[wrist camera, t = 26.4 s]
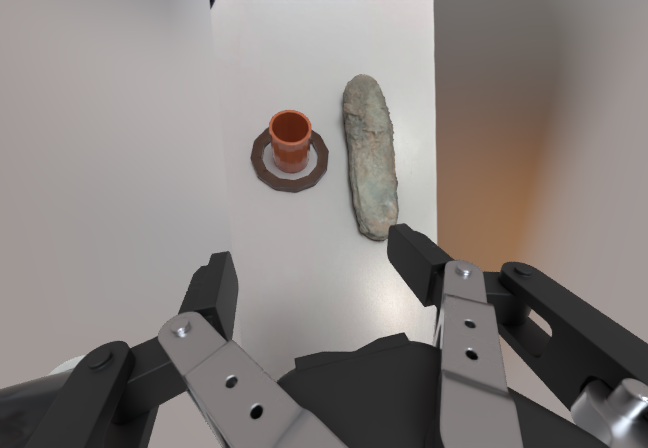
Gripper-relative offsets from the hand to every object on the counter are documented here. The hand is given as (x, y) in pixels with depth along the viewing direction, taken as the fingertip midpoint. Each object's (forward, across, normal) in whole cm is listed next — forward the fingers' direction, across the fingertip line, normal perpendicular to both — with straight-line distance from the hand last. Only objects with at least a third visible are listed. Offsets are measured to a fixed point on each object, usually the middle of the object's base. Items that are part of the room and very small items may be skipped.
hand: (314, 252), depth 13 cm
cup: (+37, -2, +3) cm, 37 cm away
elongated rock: (+36, -17, +4) cm, 40 cm away
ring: (+37, -2, +3) cm, 37 cm away
